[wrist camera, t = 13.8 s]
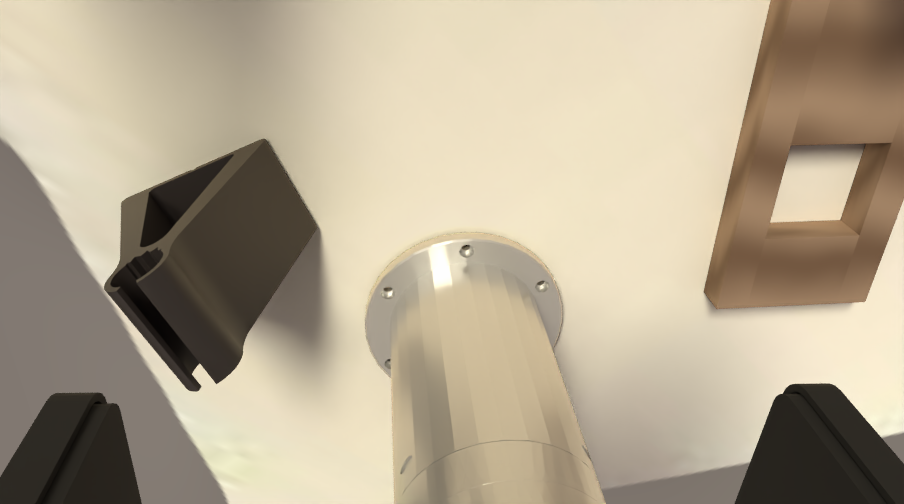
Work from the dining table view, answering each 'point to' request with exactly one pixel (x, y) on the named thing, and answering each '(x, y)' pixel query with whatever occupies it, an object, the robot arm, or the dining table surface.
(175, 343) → the phone stand
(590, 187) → the dining table surface
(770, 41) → the board
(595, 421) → the dining table surface
